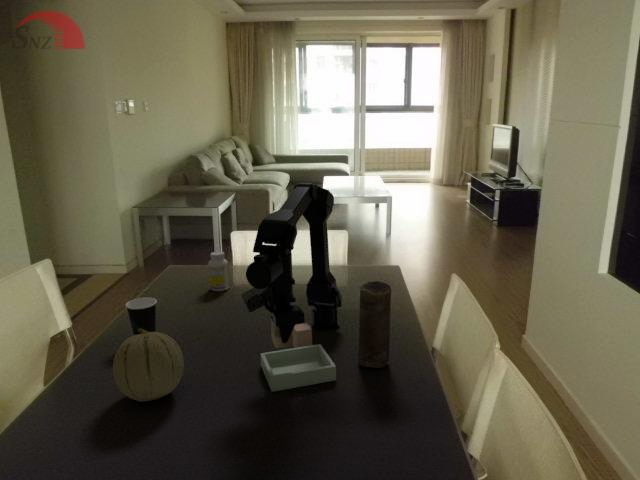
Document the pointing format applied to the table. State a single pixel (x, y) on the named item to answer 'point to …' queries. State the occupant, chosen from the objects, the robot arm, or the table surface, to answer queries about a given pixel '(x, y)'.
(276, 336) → the maple block
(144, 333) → the cantaloupe
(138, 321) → the dixie cup
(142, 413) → the table surface
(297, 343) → the coral block
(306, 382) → the sage tub
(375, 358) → the candle
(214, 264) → the supplement bottle
